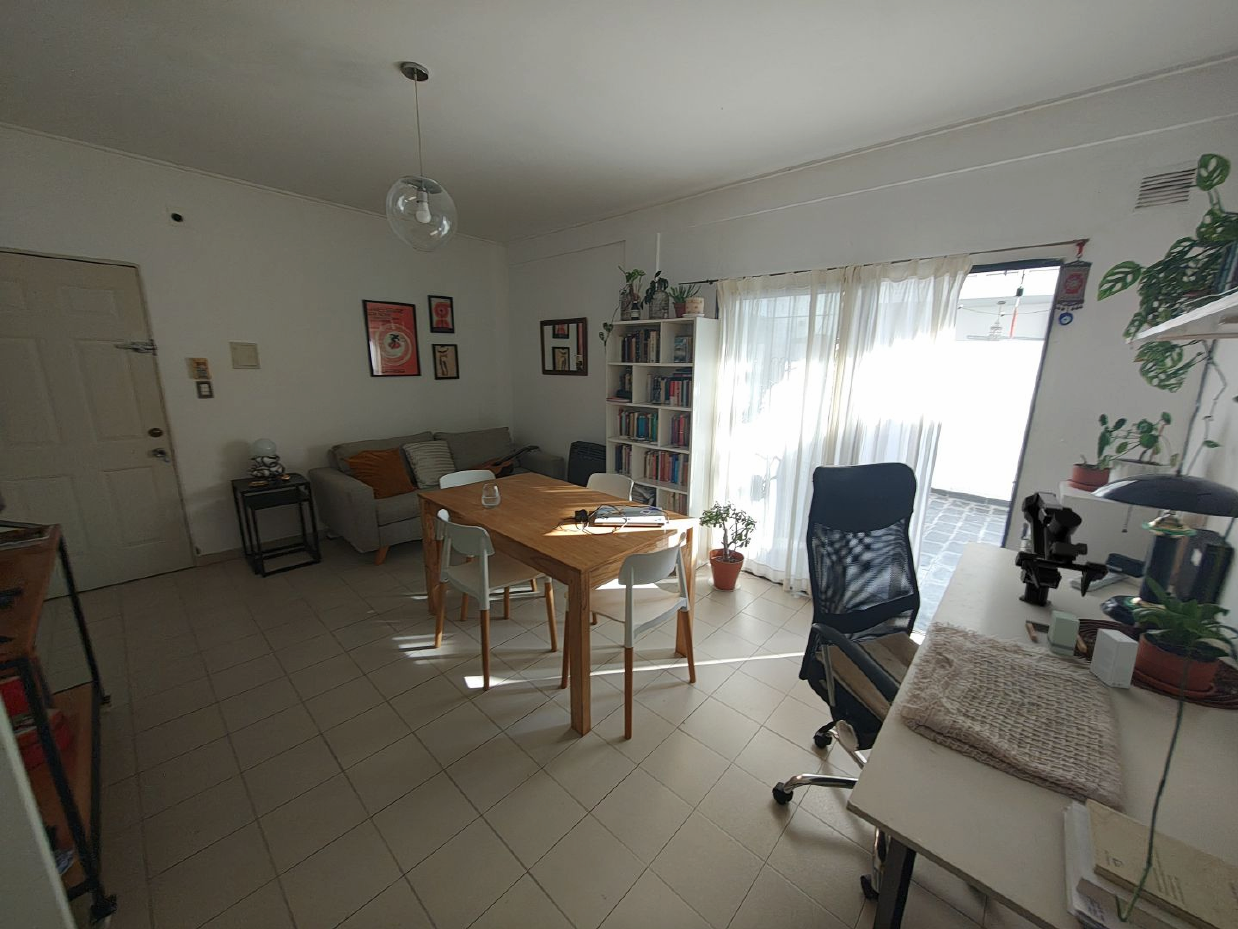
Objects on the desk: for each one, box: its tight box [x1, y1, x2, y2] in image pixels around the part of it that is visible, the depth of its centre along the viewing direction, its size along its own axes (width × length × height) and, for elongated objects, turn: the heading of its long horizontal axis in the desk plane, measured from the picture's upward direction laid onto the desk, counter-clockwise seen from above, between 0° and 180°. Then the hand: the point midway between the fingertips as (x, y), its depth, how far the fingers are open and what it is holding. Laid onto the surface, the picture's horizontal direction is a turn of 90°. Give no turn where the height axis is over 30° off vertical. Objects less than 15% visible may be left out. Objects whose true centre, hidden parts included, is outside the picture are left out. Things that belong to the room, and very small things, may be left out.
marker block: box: [1045, 609, 1081, 657], centre depth 121 cm, size 5×5×10 cm
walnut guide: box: [1025, 619, 1088, 654], centre depth 127 cm, size 10×11×2 cm
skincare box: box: [1089, 628, 1140, 689], centre depth 108 cm, size 6×4×12 cm
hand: (1060, 592), depth 126 cm, fingers open, 9 cm apart
